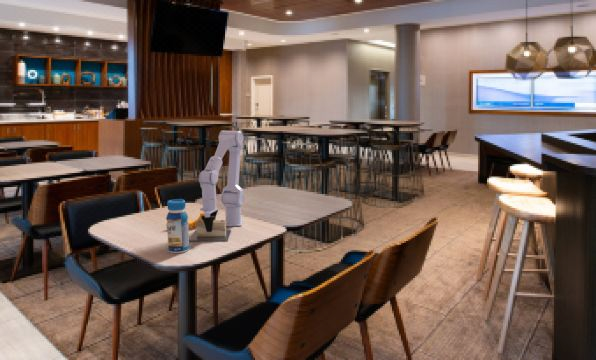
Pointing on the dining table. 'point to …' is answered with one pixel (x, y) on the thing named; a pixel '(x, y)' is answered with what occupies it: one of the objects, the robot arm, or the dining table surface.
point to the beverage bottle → (177, 226)
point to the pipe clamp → (193, 223)
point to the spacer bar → (217, 229)
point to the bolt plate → (209, 237)
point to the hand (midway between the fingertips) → (210, 229)
